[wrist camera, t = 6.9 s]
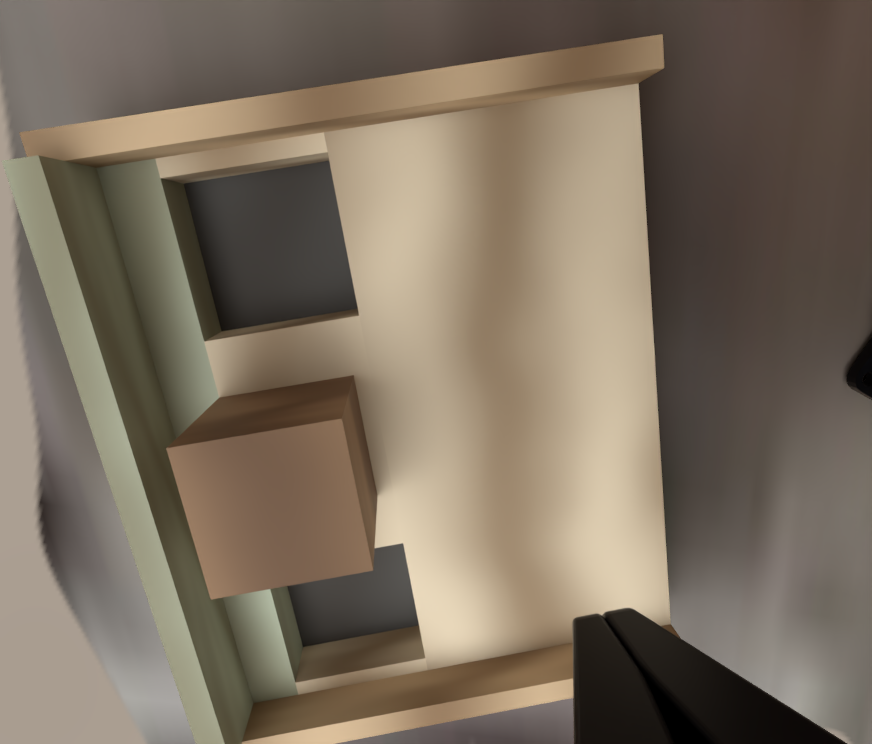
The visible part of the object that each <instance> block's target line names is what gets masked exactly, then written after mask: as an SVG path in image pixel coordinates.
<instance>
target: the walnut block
mask: <svg viewBox="0 0 872 744" xmlns="http://www.w3.org/2000/svg"><path fill="white" fill-rule="evenodd" d="M166 450H167V453H168V456H169V460H170V463H171V466H172V470H173V473H174V477H175V480H176V483H177V487H178V490H179V494H180V497H181V500H182V504H183V507H184V511H185V514H186V517H187V521H188V524H189V527H190V531H191V534H192V538H193V541H194V544H195V548H196V551H197V555H198V558H199V561H200V565H201V568H202V572H203V575H204V578H205V582H206V585H207V589H208V592H209V595H210V599H211V600H212V599H217V598H223V597H229V596H234V595H240V594H245V593H251V592H257V591H262V590H268V589H273V588H279V587H284V586H290V585H296V584H301V583H307V582H312V581H318V580H324V579H329V578H335V577H340V576H346V575H351V574H357V573H363V572H368V571H373V567H374V549H375V532H376V514H377V497H378V496H377V491H376V486H375V481H374V476H373V471H372V466H371V461H370V456H369V450H368V445H367V440H366V435H365V430H364V425H363V420H362V415H361V410H360V405H359V400H358V395H357V390H356V384H355V379H354V375H352V376H346V377H340V378H334V379H328V380H322V381H316V382H310V383H304V384H298V385H292V386H286V387H280V388H274V389H268V390H262V391H256V392H250V393H244V394H238V395H232V396H226V397H220V398H218V399H217V400H216V401H215V402H214V403H213V404H212V405H211V406H210V407H209V408H208V409H207V410H206V411H205V412H204V413H203V414H202V415H200V416H199V417H198V418H197V419H196V420H195V421H194V422H193V423H192V424H191V425H190V426H189V427H188V428H187V429H186V430H185V431H184V432H183V433H182V434H181V435H180V436H179V437H177V438H176V439H175V440H174V441H173V442H172V443H171V444H170V445H169V446H168V447H167V448H166Z"/></svg>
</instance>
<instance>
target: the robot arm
mask: <svg viewBox="0 0 872 744" xmlns="http://www.w3.org/2000/svg"><path fill="white" fill-rule="evenodd" d="M866 373H867V377H866V380H864V381H863V382H862V379H863V377H864V375H865V374H866ZM847 383H848V385H849V386H850V387H851V388H852V389H853V390H855V391H857V392H859V393H860V394H862V395H864V396H865V397H867V398H869V399H871V400H872V338H871V340H870V341H869V343H868V344H867V346H866V347H865V349H864V350H863V351H862V353H861V354H860V356H859V357H858V359H857V360H856V361H855V363H854V364H853V366H852V367H851V369H850V370H849V372H848V374H847ZM572 636H573V707H574V744H847V743H845V742H844V741H842V740H841V739H839V738H837V737H836V736H834V735H833V734H831V733H830V732H828V731H826V730H825V729H823V728H822V727H820V726H818V725H817V724H815V723H814V722H812V721H811V720H809V719H807V718H806V717H804V716H803V715H801V714H799V713H798V712H796V711H795V710H793V709H792V708H790V707H788V706H787V705H785V704H784V703H782V702H780V701H779V700H777V699H776V698H774V697H772V696H771V695H769V694H768V693H766V692H765V691H763V690H761V689H760V688H758V687H757V686H755V685H753V684H752V683H750V682H749V681H747V680H746V679H744V678H742V677H741V676H739V675H738V674H736V673H734V672H733V671H731V670H730V669H728V668H726V667H725V666H723V665H722V664H720V663H719V662H717V661H715V660H714V659H712V658H711V657H709V656H707V655H706V654H704V653H703V652H701V651H700V650H698V649H696V648H695V647H693V646H692V645H690V644H688V643H687V642H685V641H684V640H682V639H680V638H679V637H677V636H676V635H674V634H673V633H671V632H669V631H668V630H666V629H665V628H663V627H661V626H660V625H658V624H657V623H655V622H654V621H652V620H650V619H649V618H647V617H646V616H644V615H642V614H641V613H639V612H638V611H636V610H634V609H632V608H622V609H616V610H611V611H606V612H605V613H604V614H603V615H600V614H598V613H595V614H590V615H585V616H580V617H576V618H574V619H573V622H572Z"/></svg>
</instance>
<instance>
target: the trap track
mask: <svg viewBox="0 0 872 744" xmlns="http://www.w3.org/2000/svg"><path fill="white" fill-rule="evenodd" d="M663 68H664V52H663V34H660V35H654V36H647V37H641V38H634V39H628V40H621V41H615V42H608V43H601V44H595V45H588V46H582V47H575V48H569V49H562V50H556V51H549V52H543V53H536V54H530V55H523V56H516V57H510V58H503V59H497V60H490V61H484V62H477V63H471V64H464V65H458V66H451V67H444V68H438V69H431V70H425V71H418V72H412V73H405V74H399V75H392V76H386V77H379V78H373V79H366V80H359V81H353V82H346V83H340V84H333V85H327V86H320V87H314V88H307V89H301V90H294V91H288V92H281V93H274V94H268V95H261V96H255V97H248V98H242V99H235V100H229V101H222V102H216V103H209V104H203V105H196V106H189V107H183V108H176V109H170V110H163V111H157V112H150V113H144V114H137V115H131V116H124V117H118V118H111V119H104V120H98V121H91V122H85V123H78V124H72V125H65V126H59V127H52V128H46V129H39V130H32V131H26V132H19V133H20V136H21V139H22V142H23V145H24V149H25V152H26V155H27V157H24V158H18V159H11V160H5V161H2V163H3V166H4V169H5V172H6V175H7V178H8V181H9V184H10V187H11V190H12V193H13V196H14V199H15V202H16V205H17V208H18V211H19V214H20V217H21V220H22V223H23V226H24V229H25V232H26V235H27V238H28V241H29V244H30V247H31V250H32V253H33V256H34V259H35V262H36V265H37V268H38V271H39V274H40V277H41V280H42V283H43V286H44V289H45V292H46V295H47V298H48V301H49V304H50V307H51V310H52V313H53V316H54V319H55V322H56V325H57V328H58V331H59V334H60V337H61V340H62V343H63V346H64V349H65V352H66V355H67V359H68V362H69V365H70V368H71V371H72V374H73V377H74V380H75V383H76V386H77V389H78V392H79V395H80V398H81V401H82V404H83V407H84V410H85V413H86V416H87V419H88V422H89V425H90V428H91V431H92V434H93V437H94V440H95V443H96V446H97V449H98V452H99V455H100V458H101V461H102V464H103V467H104V470H105V473H106V476H107V479H108V482H109V485H110V488H111V491H112V494H113V497H114V500H115V503H116V506H117V509H118V512H119V515H120V518H121V521H122V524H123V527H124V530H125V533H126V536H127V539H128V542H129V545H130V548H131V551H132V554H133V557H134V560H135V563H136V566H137V569H138V572H139V575H140V578H141V581H142V584H143V587H144V590H145V593H146V596H147V599H148V602H149V605H150V608H151V611H152V614H153V617H154V620H155V623H156V626H157V629H158V632H159V635H160V638H161V641H162V644H163V647H164V650H165V653H166V656H167V659H168V662H169V665H170V668H171V671H172V674H173V677H174V680H175V683H176V686H177V689H178V692H179V695H180V698H181V701H182V704H183V707H184V710H185V713H186V716H187V719H188V722H189V725H190V728H191V731H192V734H193V737H194V740H195V743H196V744H335V743H340V742H346V741H351V740H356V739H361V738H366V737H371V736H377V735H382V734H387V733H392V732H397V731H403V730H408V729H413V728H418V727H423V726H429V725H434V724H439V723H444V722H449V721H454V720H460V719H465V718H470V717H475V716H480V715H486V714H491V713H496V712H501V711H506V710H512V709H517V708H522V707H527V706H532V705H537V704H543V703H548V702H553V701H558V700H563V699H569V698H573V636H572V622H573V619H574V618H576V617H580V616H585V615H590V614H595V613H598V614H600V615H603V614H604V613H605V612H606V611H611V610H616V609H622V608H632V609H634V610H636V611H638V612H639V613H641V614H642V615H644V616H646V617H647V618H649V619H650V620H652V621H654V622H655V623H657V624H658V625H660V626H661V627H663V628H665V629H666V630H668V631H669V632H671V633H673V634H674V635H676V636H677V637H679V635H678V634H677V632H676V631H675V630H674V628H673V627H672V625H671V621H670V605H669V588H668V571H667V554H666V537H665V521H664V504H663V487H662V470H661V453H660V436H659V420H658V403H657V386H656V369H655V352H654V336H653V319H652V302H651V285H650V268H649V251H648V235H647V218H646V201H645V184H644V167H643V150H642V134H641V117H640V100H639V83H640V82H642V81H643V80H645V79H647V78H648V77H650V76H651V75H653V74H655V73H656V72H658V71H660V70H661V69H663ZM352 375H354V379H355V384H356V390H357V395H358V400H359V405H360V410H361V415H362V420H363V425H364V430H365V435H366V440H367V445H368V450H369V456H370V461H371V466H372V471H373V476H374V481H375V486H376V491H377V496H378V497H377V514H376V532H375V549H374V567H373V571H368V572H363V573H357V574H351V575H346V576H340V577H335V578H329V579H324V580H318V581H312V582H307V583H301V584H296V585H290V586H284V587H279V588H273V589H268V590H262V591H257V592H251V593H245V594H240V595H234V596H229V597H223V598H217V599H212V600H211V599H210V595H209V592H208V589H207V585H206V582H205V578H204V575H203V572H202V568H201V565H200V561H199V558H198V555H197V551H196V548H195V544H194V541H193V538H192V534H191V531H190V527H189V524H188V521H187V517H186V514H185V511H184V507H183V504H182V500H181V497H180V494H179V490H178V487H177V483H176V480H175V477H174V473H173V470H172V466H171V463H170V460H169V456H168V453H167V450H166V448H167V447H168V446H169V445H170V444H171V443H172V442H173V441H174V440H175V439H176V438H177V437H179V436H180V435H181V434H182V433H183V432H184V431H185V430H186V429H187V428H188V427H189V426H190V425H191V424H192V423H193V422H194V421H195V420H196V419H197V418H198V417H199V416H200V415H202V414H203V413H204V412H205V411H206V410H207V409H208V408H209V407H210V406H211V405H212V404H213V403H214V402H215V401H216V400H217V399H218V398H220V397H226V396H232V395H238V394H244V393H250V392H256V391H262V390H268V389H274V388H280V387H286V386H292V385H298V384H304V383H310V382H316V381H322V380H328V379H334V378H340V377H346V376H352ZM679 638H680V637H679ZM680 639H681V638H680Z"/></svg>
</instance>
